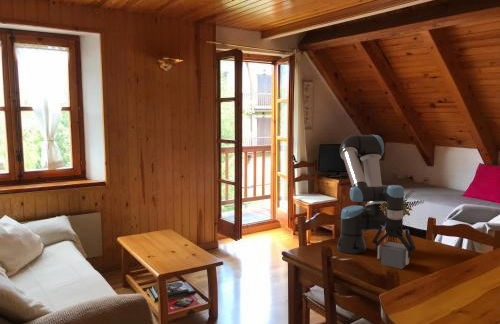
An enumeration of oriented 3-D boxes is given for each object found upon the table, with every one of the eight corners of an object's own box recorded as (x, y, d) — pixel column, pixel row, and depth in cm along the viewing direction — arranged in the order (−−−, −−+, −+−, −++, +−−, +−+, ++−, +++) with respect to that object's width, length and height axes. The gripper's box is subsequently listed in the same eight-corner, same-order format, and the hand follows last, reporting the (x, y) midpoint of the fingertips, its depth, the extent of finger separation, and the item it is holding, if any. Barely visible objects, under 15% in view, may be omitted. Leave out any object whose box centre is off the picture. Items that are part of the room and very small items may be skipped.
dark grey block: (388, 258, 213) (388, 241, 212) (408, 262, 207) (409, 245, 206) (381, 264, 205) (381, 246, 204) (402, 269, 198) (403, 251, 197)
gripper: (366, 215, 205) (365, 257, 208) (419, 223, 190) (417, 268, 193) (372, 212, 211) (370, 253, 214) (423, 220, 196) (422, 264, 199)
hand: (392, 260), depth 203 cm, fingers open, 13 cm apart
